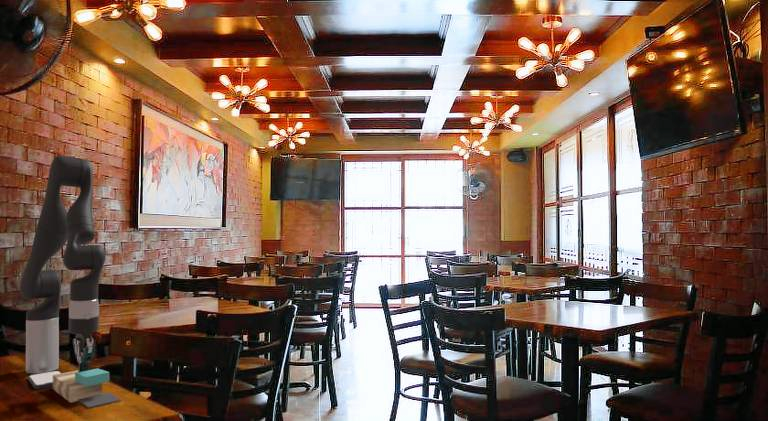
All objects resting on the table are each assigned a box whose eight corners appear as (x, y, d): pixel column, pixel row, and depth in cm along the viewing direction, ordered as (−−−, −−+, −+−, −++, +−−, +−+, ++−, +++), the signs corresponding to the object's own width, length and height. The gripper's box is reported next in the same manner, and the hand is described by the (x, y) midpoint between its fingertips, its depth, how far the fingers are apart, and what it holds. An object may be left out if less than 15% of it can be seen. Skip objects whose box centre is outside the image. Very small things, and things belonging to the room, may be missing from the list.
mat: (78, 400, 145) (78, 399, 145) (109, 393, 151) (109, 392, 151) (88, 408, 139) (88, 407, 139) (121, 401, 144) (121, 399, 144)
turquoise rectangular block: (75, 382, 149) (75, 373, 149) (97, 377, 153) (97, 368, 154) (86, 386, 144) (86, 377, 144) (109, 381, 148) (109, 372, 148)
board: (52, 388, 156) (52, 375, 156) (82, 382, 162) (82, 369, 162) (70, 402, 144) (70, 387, 144) (102, 395, 149) (102, 381, 149)
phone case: (27, 380, 167) (34, 391, 155) (27, 375, 168) (34, 385, 155) (59, 375, 173) (69, 385, 161) (59, 370, 173) (69, 379, 161)
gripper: (62, 312, 154) (62, 372, 154) (76, 320, 145) (75, 383, 145) (91, 309, 159) (90, 367, 159) (106, 316, 150) (105, 377, 150)
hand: (83, 375), depth 152 cm, fingers closed
